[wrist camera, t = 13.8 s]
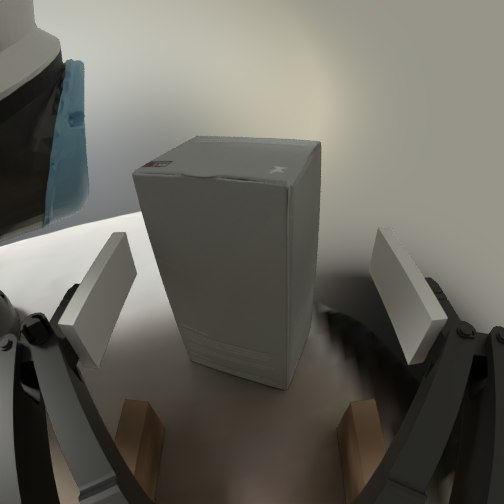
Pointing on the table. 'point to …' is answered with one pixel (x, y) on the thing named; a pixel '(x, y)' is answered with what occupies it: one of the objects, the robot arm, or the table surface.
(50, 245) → the table surface
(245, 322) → the skincare box
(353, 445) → the walnut u-shaped frame
